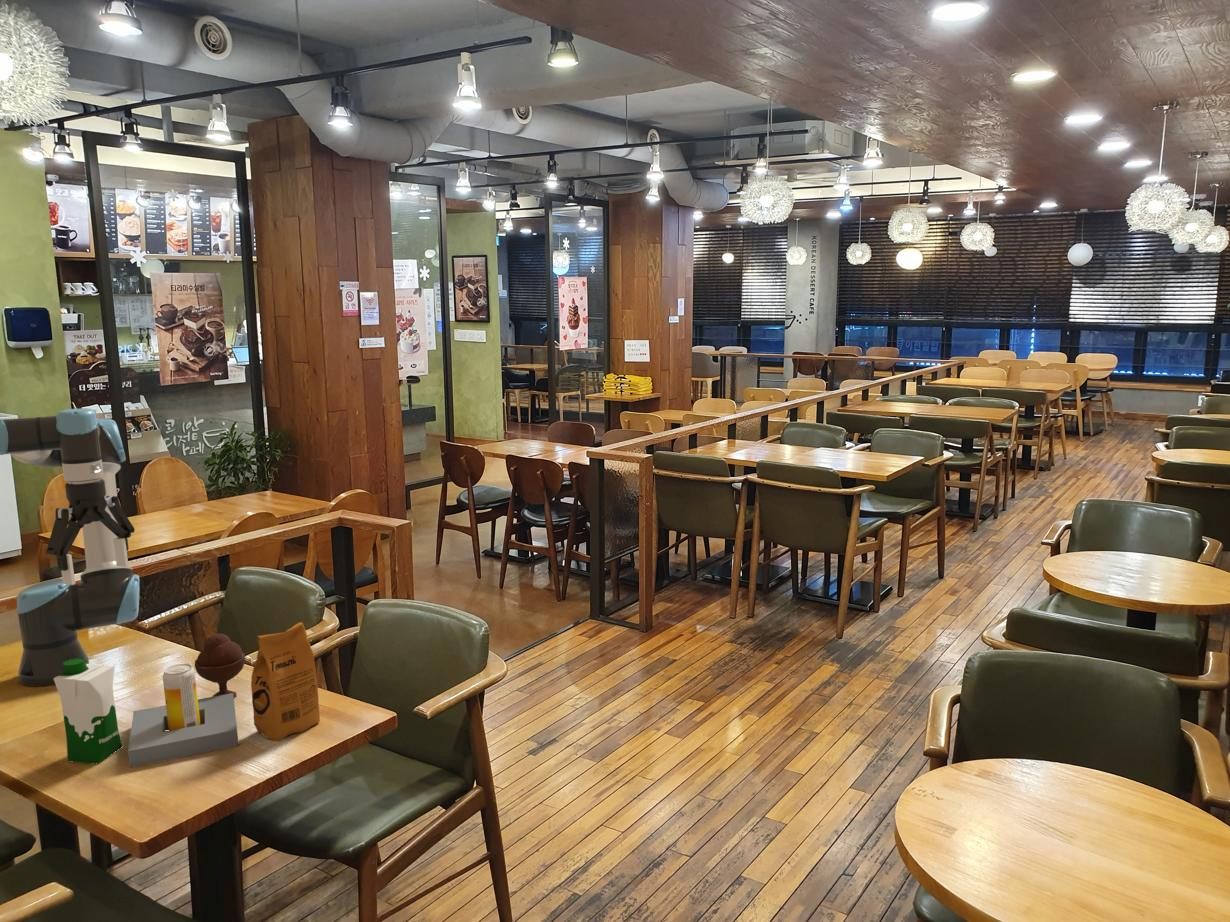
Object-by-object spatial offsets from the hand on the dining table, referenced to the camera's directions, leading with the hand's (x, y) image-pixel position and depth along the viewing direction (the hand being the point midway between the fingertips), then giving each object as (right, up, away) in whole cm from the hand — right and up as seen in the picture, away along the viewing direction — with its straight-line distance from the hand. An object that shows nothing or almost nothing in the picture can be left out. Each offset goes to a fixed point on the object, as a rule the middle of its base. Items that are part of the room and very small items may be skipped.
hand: (96, 575), depth 204 cm
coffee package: (+44, -32, -6) cm, 55 cm away
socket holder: (+23, -33, -8) cm, 41 cm away
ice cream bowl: (+24, -30, +10) cm, 40 cm away
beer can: (+23, -33, -8) cm, 41 cm away
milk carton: (+9, -35, -16) cm, 39 cm away
